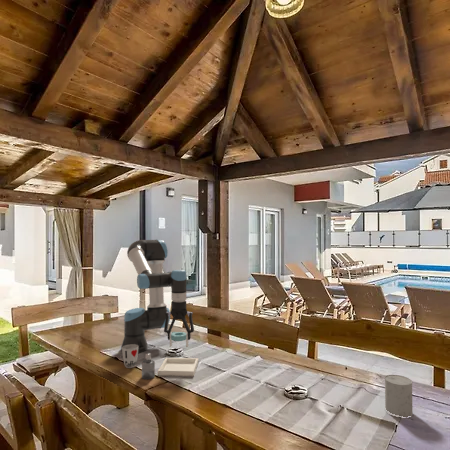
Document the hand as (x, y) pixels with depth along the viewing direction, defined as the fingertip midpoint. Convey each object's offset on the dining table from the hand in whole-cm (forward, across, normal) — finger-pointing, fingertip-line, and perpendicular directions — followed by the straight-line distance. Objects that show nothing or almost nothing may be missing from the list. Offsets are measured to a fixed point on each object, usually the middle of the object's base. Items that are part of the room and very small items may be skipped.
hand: (179, 346), depth 178 cm
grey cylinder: (+12, +92, -38) cm, 100 cm away
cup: (+12, -26, +3) cm, 29 cm away
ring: (-4, 0, 0) cm, 4 cm away
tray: (+12, 0, 0) cm, 12 cm away
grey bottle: (+12, -13, -10) cm, 20 cm away
